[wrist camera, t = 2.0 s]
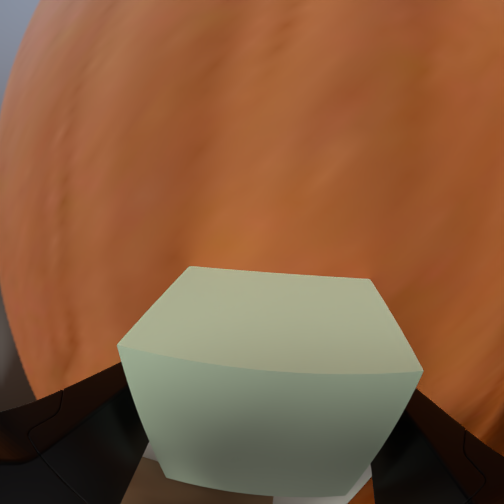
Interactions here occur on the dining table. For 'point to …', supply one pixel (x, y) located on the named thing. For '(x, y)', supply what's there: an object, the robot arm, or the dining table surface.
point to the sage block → (268, 380)
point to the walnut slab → (178, 490)
